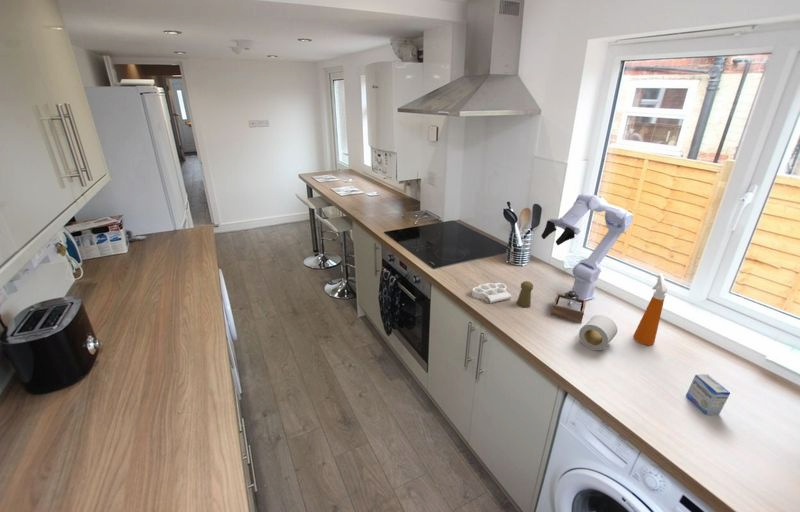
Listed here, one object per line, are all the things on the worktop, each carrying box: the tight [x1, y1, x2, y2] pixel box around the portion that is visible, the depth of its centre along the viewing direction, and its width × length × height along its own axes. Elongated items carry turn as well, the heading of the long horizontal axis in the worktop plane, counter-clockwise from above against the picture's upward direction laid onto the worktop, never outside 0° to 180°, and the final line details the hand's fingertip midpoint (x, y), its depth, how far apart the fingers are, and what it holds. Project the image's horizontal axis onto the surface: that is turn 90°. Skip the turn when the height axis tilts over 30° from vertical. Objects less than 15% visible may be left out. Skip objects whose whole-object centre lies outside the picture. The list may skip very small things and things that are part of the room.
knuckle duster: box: [471, 282, 512, 304], centre depth 172 cm, size 3×18×15 cm
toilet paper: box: [578, 314, 618, 351], centre depth 138 cm, size 10×10×10 cm
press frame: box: [550, 293, 587, 324], centre depth 158 cm, size 12×12×5 cm
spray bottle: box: [632, 273, 668, 346], centre depth 139 cm, size 7×11×26 cm, turn 161°
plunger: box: [556, 290, 582, 311], centre depth 157 cm, size 9×9×6 cm
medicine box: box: [685, 373, 731, 416], centre depth 110 cm, size 8×4×9 cm, turn 5°
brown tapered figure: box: [516, 280, 534, 309], centre depth 162 cm, size 6×6×11 cm
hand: (549, 240), depth 149 cm, fingers open, 7 cm apart
